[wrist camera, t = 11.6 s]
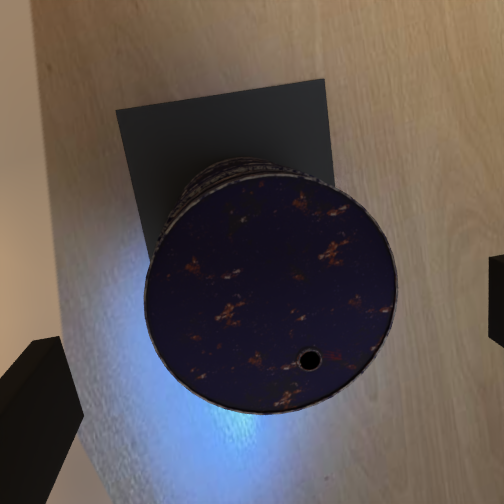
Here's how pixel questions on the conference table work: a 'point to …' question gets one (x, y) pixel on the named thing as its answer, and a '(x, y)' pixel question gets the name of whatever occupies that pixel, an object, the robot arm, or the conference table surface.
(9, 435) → the robot arm
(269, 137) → the mat
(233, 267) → the rusty barrel
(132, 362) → the conference table surface
